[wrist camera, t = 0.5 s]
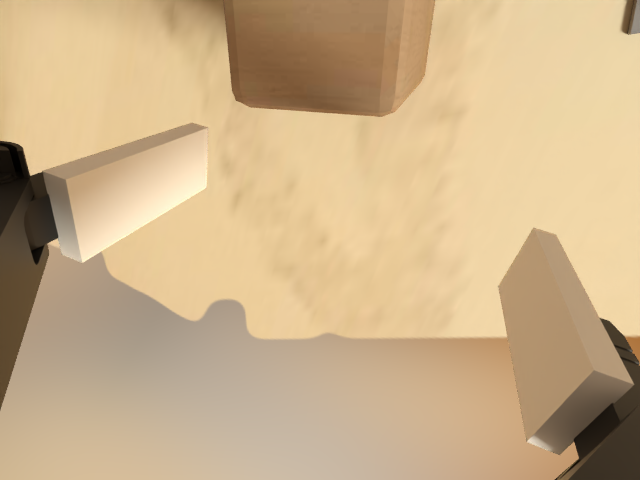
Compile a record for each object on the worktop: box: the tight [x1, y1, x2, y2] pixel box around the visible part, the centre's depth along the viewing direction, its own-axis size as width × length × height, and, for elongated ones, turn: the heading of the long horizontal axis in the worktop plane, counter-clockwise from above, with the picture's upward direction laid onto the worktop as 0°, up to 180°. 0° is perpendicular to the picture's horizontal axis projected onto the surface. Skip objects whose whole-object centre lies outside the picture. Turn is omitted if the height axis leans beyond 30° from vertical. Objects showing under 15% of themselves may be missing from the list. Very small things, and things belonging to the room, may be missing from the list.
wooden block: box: [224, 0, 435, 117], centre depth 26 cm, size 10×10×20 cm
